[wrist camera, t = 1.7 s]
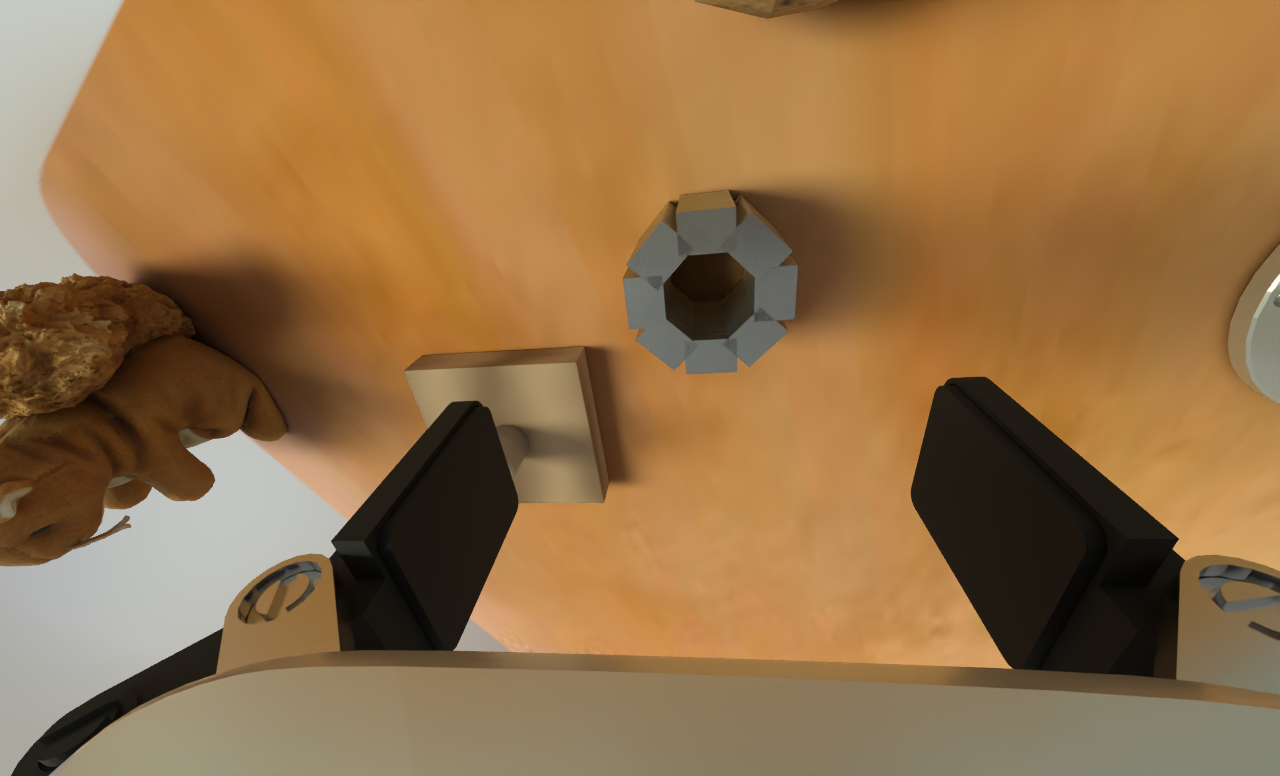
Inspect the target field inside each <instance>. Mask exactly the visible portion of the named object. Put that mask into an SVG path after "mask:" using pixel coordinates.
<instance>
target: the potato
mask: <svg viewBox="0 0 1280 776" xmlns="http://www.w3.org/2000/svg"><path fill="white" fill-rule="evenodd" d="M694 1H695V2H699V3H703V4H708V5H712V6H716V7H720V8H724V9H729V10H733V11H737V12H741V13H745V14H750V15H754V16H758V17H762V18H766V19H768V18H773V17H778V16H783V15H788V14H794V13H799V12H804V11H809V10H814V9H820V8H823V7H825V6H827V5H829V4H831V3H833V2H836V1H838V0H694Z"/></svg>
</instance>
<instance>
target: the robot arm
mask: <svg viewBox="0 0 1280 776" xmlns="http://www.w3.org/2000/svg"><path fill="white" fill-rule="evenodd" d="M1227 346H1228V351H1229V357H1230V363H1231V365H1232V367H1233V369H1234V370H1235V372H1236V374H1237V375H1238V377H1239V379H1240V380H1241V381H1242V382H1244V383H1245V384H1246V385H1247V386H1248V387H1249V388H1251V389H1252V390H1253V391H1254V392H1256V393H1258V394H1260V395H1262V396H1264V397H1266V398H1268V399H1270V400H1272V401H1274V402H1276V403H1278V404H1280V244H1279V245H1278V246H1277V247H1276V249H1275V250H1274V251H1273V252H1272V253H1271V255H1270V256H1269V257H1268V258H1267V259H1266V261H1265V262H1264V263H1263V264H1262V265H1261V267H1260V268H1259V269H1258V270H1257V271H1256V273H1255V274H1254V276H1253V278H1252V279H1251V281H1250V282H1249V284H1248V286H1247V287H1246V289H1245V291H1244V292H1243V294H1242V295H1241V297H1240V299H1239V302H1238V304H1237V307H1236V309H1235V312H1234V315H1233V317H1232V320H1231V322H1230V329H1229V336H1228V344H1227ZM911 498H912V502H913V505H914V507H915V509H916V511H917V512H918V514H919V516H920V518H921V519H922V521H923V523H924V524H925V526H926V528H927V529H928V531H929V533H930V534H931V536H932V538H933V539H934V541H935V543H936V544H937V546H938V548H939V550H940V551H941V553H942V555H943V556H944V558H945V560H946V561H947V563H948V565H949V566H950V568H951V570H952V571H953V573H954V575H955V577H956V578H957V580H958V582H959V583H960V585H961V587H962V588H963V590H964V592H965V593H966V595H967V597H968V598H969V600H970V602H971V604H972V605H973V607H974V609H975V610H976V612H977V614H978V615H979V617H980V619H981V620H982V622H983V624H984V625H985V627H986V629H987V630H988V632H989V634H990V636H991V637H992V639H993V641H994V642H995V644H996V646H997V647H998V649H999V651H1000V652H1001V654H1002V656H1003V657H1004V659H1005V660H1006V662H1007V663H1008V665H1010V666H1011V667H1012V668H1013V669H1002V668H977V667H950V666H923V665H896V664H869V663H842V662H815V661H785V660H755V659H724V658H693V657H661V656H628V655H594V654H556V653H518V652H479V651H478V652H476V651H453V650H454V649H455V648H456V646H457V644H458V642H459V640H460V638H461V636H462V634H463V631H464V629H465V627H466V625H467V622H468V620H469V618H470V616H471V613H472V611H473V609H474V607H475V604H476V602H477V600H478V598H479V595H480V593H481V591H482V589H483V586H484V584H485V582H486V580H487V577H488V575H489V573H490V571H491V568H492V566H493V564H494V562H495V559H496V557H497V555H498V553H499V550H500V548H501V546H502V544H503V541H504V539H505V537H506V535H507V532H508V530H509V528H510V526H511V524H512V521H513V519H514V517H515V515H516V512H517V509H518V495H517V491H516V488H515V485H514V482H513V479H512V476H511V473H510V470H509V467H508V463H507V460H506V457H505V454H504V451H503V448H502V445H501V442H500V439H499V436H498V432H497V429H496V426H495V423H494V420H493V417H492V414H491V411H490V409H489V408H488V407H486V406H484V407H483V405H482V404H481V403H480V402H479V401H455V402H451V403H450V404H449V405H448V406H447V407H446V408H445V409H444V411H443V412H442V413H441V414H440V415H439V416H438V418H437V419H436V420H435V421H434V422H433V423H432V425H431V426H430V427H429V428H428V429H427V430H426V432H425V433H424V434H423V435H422V436H421V437H420V438H419V440H418V441H417V442H416V443H415V444H414V445H413V447H412V448H411V449H410V450H409V451H408V452H407V454H406V455H405V456H404V457H403V458H402V459H401V461H400V462H399V463H398V464H397V465H396V466H395V468H394V469H393V470H392V471H391V472H390V473H389V474H388V476H387V477H386V478H385V479H384V480H383V481H382V483H381V484H380V485H379V486H378V487H377V488H376V490H375V491H374V492H373V493H372V494H371V495H370V497H369V498H368V499H367V500H366V501H365V502H364V504H363V505H362V506H361V507H360V508H359V509H358V511H357V512H356V513H355V514H354V515H353V516H352V517H351V519H350V520H349V521H348V522H347V523H346V524H345V526H344V527H343V528H342V529H341V530H340V531H339V533H338V534H337V535H336V536H335V537H334V538H333V540H332V541H331V542H332V544H333V545H334V547H335V548H336V551H335V553H334V554H333V555H332V556H331V557H330V558H326V557H325V556H323V555H321V554H306V555H301V556H296V557H294V558H291V559H288V560H286V561H283V562H281V563H279V564H277V565H275V566H273V567H271V568H270V569H268V570H266V571H265V572H263V573H262V574H260V575H259V576H258V577H256V578H255V579H253V580H252V581H251V582H250V583H249V584H248V585H247V586H246V587H245V588H244V589H243V590H241V591H240V593H239V594H238V595H237V596H236V598H235V599H234V600H233V602H232V603H231V605H230V606H229V609H228V611H227V614H226V616H225V621H224V628H222V629H221V630H219V631H217V632H215V633H213V634H211V635H209V636H207V637H205V638H204V639H202V640H200V641H198V642H196V643H194V644H192V645H191V646H189V647H187V648H185V649H183V650H181V651H179V652H177V653H175V654H174V655H172V656H170V657H168V658H166V659H164V660H162V661H160V662H159V663H157V664H155V665H153V666H151V667H149V668H148V669H146V670H144V671H142V672H140V673H138V674H136V675H134V676H133V677H131V678H129V679H127V680H125V681H123V682H121V683H119V684H117V685H116V686H113V687H112V688H110V689H108V690H106V691H104V692H102V693H100V694H98V695H97V696H95V697H93V698H92V699H90V700H89V701H87V702H85V703H84V704H82V705H80V706H79V707H77V708H75V709H74V710H72V711H70V712H69V713H67V714H66V715H65V716H63V717H62V718H61V719H59V720H58V721H57V722H56V723H55V724H54V725H52V726H51V727H50V728H49V729H48V730H47V731H46V732H45V733H44V735H43V736H42V737H41V738H40V739H39V740H37V741H36V742H35V743H34V744H33V746H32V747H31V748H30V749H29V750H28V752H27V753H26V754H25V755H24V757H23V758H22V759H21V760H20V762H19V763H18V764H17V766H16V768H15V769H14V771H13V773H12V775H11V776H1280V571H1278V570H1275V569H1273V568H1270V567H1268V566H1265V565H1261V564H1258V563H1254V562H1251V561H1247V560H1243V559H1240V558H1234V557H1227V556H1220V555H1204V556H1195V557H1193V558H1191V559H1189V560H1187V561H1185V560H1184V559H1183V558H1182V557H1181V556H1179V555H1178V554H1177V553H1176V552H1175V551H1174V550H1173V547H1174V546H1175V544H1176V543H1177V541H1178V540H1179V538H1177V537H1176V536H1175V535H1174V534H1173V533H1171V532H1170V531H1169V530H1168V529H1167V528H1166V527H1164V526H1163V525H1162V524H1161V523H1160V522H1158V521H1157V520H1156V519H1155V518H1154V517H1152V516H1151V515H1150V514H1149V513H1148V512H1146V511H1145V510H1144V509H1143V508H1142V507H1141V506H1139V505H1138V504H1137V503H1136V502H1135V501H1133V500H1132V499H1131V498H1130V497H1129V496H1127V495H1126V494H1125V493H1124V492H1123V491H1122V490H1120V489H1119V488H1118V487H1117V486H1116V485H1114V484H1113V483H1112V482H1111V481H1110V480H1108V479H1107V478H1106V477H1105V476H1104V475H1103V474H1101V473H1100V472H1099V471H1098V470H1097V469H1095V468H1094V467H1093V466H1092V465H1091V464H1089V463H1088V462H1087V461H1086V460H1085V459H1083V458H1082V457H1081V456H1080V455H1079V454H1078V453H1076V452H1075V451H1074V450H1073V449H1072V448H1070V447H1069V446H1068V445H1067V444H1066V443H1064V442H1063V441H1062V440H1061V439H1060V438H1059V437H1057V436H1056V435H1055V434H1054V433H1053V432H1051V431H1050V430H1049V429H1048V428H1047V427H1045V426H1044V425H1043V424H1042V423H1041V422H1040V421H1038V420H1037V419H1036V418H1035V417H1034V416H1032V415H1031V414H1030V413H1029V412H1028V411H1026V410H1025V409H1024V408H1023V407H1022V406H1020V405H1019V404H1018V403H1017V402H1016V401H1015V400H1013V399H1012V398H1011V397H1010V396H1009V395H1007V394H1006V393H1005V392H1004V391H1003V390H1001V389H1000V388H999V387H998V386H997V385H996V384H994V383H993V382H992V381H991V380H990V379H988V378H986V377H964V378H951V379H949V380H947V382H946V383H945V385H944V386H939V387H938V388H937V389H936V391H935V394H934V398H933V402H932V406H931V410H930V414H929V418H928V422H927V426H926V430H925V434H924V439H923V443H922V447H921V451H920V455H919V459H918V463H917V467H916V471H915V475H914V479H913V483H912V487H911Z"/></svg>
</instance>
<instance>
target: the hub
mask: <svg viewBox="0 0 1280 776" xmlns="http://www.w3.org/2000/svg"><path fill="white" fill-rule="evenodd" d="M725 252H727V253H728V254H729V255H731V256H732V257H733V258H734V259H735V260H736V261H737V262H738V263H739V264H741V265H742V266H743V279H742V280H741V281H740V282H739V283H738V284H737V285H736V286H735V287H734V288H733V289H732V290H731V291H730V292H729V293H728V294H727V295H726V296H725V297H724V299H723V300H709V301H694V302H693V301H692V300H691V299H690V298H689V297H687V296H686V295H685V294H684V293H683V292H682V291H680V290H679V289H678V288H677V287H676V286H674V285H673V284H672V280H671V274H672V273H673V272H674V271H675V270H676V269H677V268H678V266H679V265H680V264H681V263H682V262H683V261H684V259H685V258H686V257H687V256H689V255H701V254H713V253H725ZM792 252H793V251H792V250H791V248H790V247H789V246H788V244H787V243H786V242H785V240H784V239H783V238H782V237H781V235H780V234H779V233H778V231H777V230H776V229H775V227H774V226H773V225H772V224H771V223H770V222H769V221H768V220H767V219H766V218H764V217H763V216H762V215H761V214H760V213H759V212H758V211H757V210H756V209H755V208H754V207H753V206H752V205H751V204H750V203H749V202H748V201H747V200H746V199H745V198H743V197H742V196H741V195H740V194H739V196H738V197H737V198H736V199H735V200H734V201H733V199H732V197H731V195H730V193H729V191H728V190H725V191H715V192H705V193H696V194H686V195H680V198H679V202H678V206H677V208H676V207H675V206H674V205H673V204H672V203H671V202H670V201H669V202H668V203H667V205H666V206H665V207H664V209H663V210H662V211H661V212H660V214H659V215H658V216H657V217H656V219H655V220H654V221H653V223H652V224H651V225H650V226H649V228H648V229H647V230H646V231H645V233H644V234H643V235H642V237H641V238H640V240H639V241H638V243H637V245H636V247H635V249H634V251H633V253H632V255H631V257H630V259H629V261H628V263H627V266H628V269H627V271H626V273H625V275H624V277H623V284H624V292H625V300H626V307H627V315H628V323H629V329H639V331H638V334H637V338H636V341H637V342H639V343H640V344H641V345H642V346H644V347H645V348H646V349H648V350H649V351H650V352H651V353H653V354H654V355H655V356H657V357H658V358H659V359H660V360H662V361H663V362H664V363H665V364H667V365H668V366H669V367H671V368H672V369H673V370H675V369H676V368H677V367H678V366H679V365H680V364H681V363H682V362H683V361H684V360H686V374H703V373H725V372H737V357H738V358H739V359H740V360H741V361H743V362H744V363H745V364H746V365H747V366H749V367H750V366H751V365H752V364H753V363H754V362H755V361H756V360H758V359H759V358H760V357H761V356H762V355H763V354H764V353H765V352H766V351H768V350H769V349H770V348H771V347H772V346H773V345H774V344H775V343H776V342H777V341H779V340H780V339H781V338H782V337H783V336H784V335H785V334H786V333H787V332H788V330H787V327H786V325H785V323H784V321H783V320H791V319H795V306H796V290H797V274H798V264H797V263H796V261H795V260H794V259H793V257H792V256H791V255H790V254H791V253H792Z"/></svg>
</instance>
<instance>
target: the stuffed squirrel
mask: <svg viewBox="0 0 1280 776" xmlns="http://www.w3.org/2000/svg"><path fill="white" fill-rule="evenodd" d="M61 281H62V282H61V283H59V284H55V283H49V282H40V283H39V284H36V285H27V284H23V285H20V286H18V287H15V289H12V290H10V289H9V290H6V291H0V419H1V418H4V419H6V420H5V422H3V424H2V425H1V426H0V566H31V565H40V564H44V563H47V562H49V561H51V560H54V559H57V558H60V557H61V556H63V555H64V554H66V553H67V552H69V551H70V550H72V549H77V548H80V547H84V546H87V545H89V544H91V543H93V542H96V541H98V540H100V539H104V538H106V537H107V536H110V535H112V534H114V533H116V532H118V531H120V530H122V529H125V528H130V527H131V525H130V524H125V523H126V522H127V521H129V519H130V517H129V516H125V517H124V518H123V520H122V521H121V522H119V523H118V524H117V525H115V526H114V527H113V528H112V529H110V530H109V531H107V532H105V533H103V534H101V535H98V536H96V537H93V538H90V537H91V536H93V535H94V534H95V533H96V531H97V530H98V527H99V526H100V524H101V522H102V518H103V514H104V507H105V508H110V509H127V508H131V507H132V506H135V505H136V504H138V503H140V502H141V501H143V500H144V499H146V497H147V496H148V494H149V492H150V491H151V488H152V487H154V488H155V489H156V490H158V491H159V492H161V493H162V494H163V495H165V496H166V497H168V498H169V499H171V500H174V501H187V500H189V501H195V500H197V499H200V498H201V497H203V496H204V495H205V494H206V493H207V492H208V491H209V490H210V489H211V488H212V487H213V484H214V482H215V478H214V475H213V473H212V471H211V470H210V468H208V467H207V466H206V465H205V464H204V463H202V462H201V461H200V460H199V459H197V458H196V457H195V456H194V455H193V454H191V453H190V452H189V451H188V450H187V449H186V448H189V447H193V446H196V445H199V444H201V443H204V442H207V441H209V440H212V439H217V438H224V437H228V436H230V435H232V434H233V433H235V432H237V431H238V430H239V429H241V430H242V431H243V432H244V433H245V434H246V435H248V436H250V437H252V438H254V439H258V440H262V441H275V440H278V439H280V438H281V437H282V436H283V435H284V434H285V433H286V431H287V427H286V424H285V422H284V419H283V417H282V414H281V412H280V411H279V409H278V408H277V406H276V404H275V402H274V401H273V399H272V398H271V396H270V394H269V393H268V391H267V389H266V387H265V386H264V384H263V383H262V382H261V380H260V379H259V378H258V377H257V376H255V375H254V374H253V373H252V372H250V371H249V370H248V369H246V368H245V367H244V366H242V365H241V364H239V363H237V362H236V361H234V360H233V359H231V358H230V357H228V356H226V355H224V354H223V353H221V352H219V351H217V350H215V349H213V348H211V347H209V346H207V345H205V344H202V343H200V342H198V341H195V340H192V339H190V337H192V336H194V335H195V334H196V332H195V329H194V327H193V325H192V323H191V319H190V318H188V317H187V316H185V315H184V314H183V311H182V310H181V309H180V308H179V307H178V305H177V304H175V303H174V302H173V300H172V299H170V298H169V297H167V296H165V295H163V294H160V293H157V292H155V291H153V290H152V289H150V288H149V286H146V285H144V284H135V283H134V284H129V283H127V282H126V281H119V280H117V279H113V278H111V277H108V276H106V277H103V276H100V277H92V276H87V277H82V276H79V275H77V274H75V273H74V274H73V275H72V276H69V277H65V278H64V277H62V279H61Z"/></svg>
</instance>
